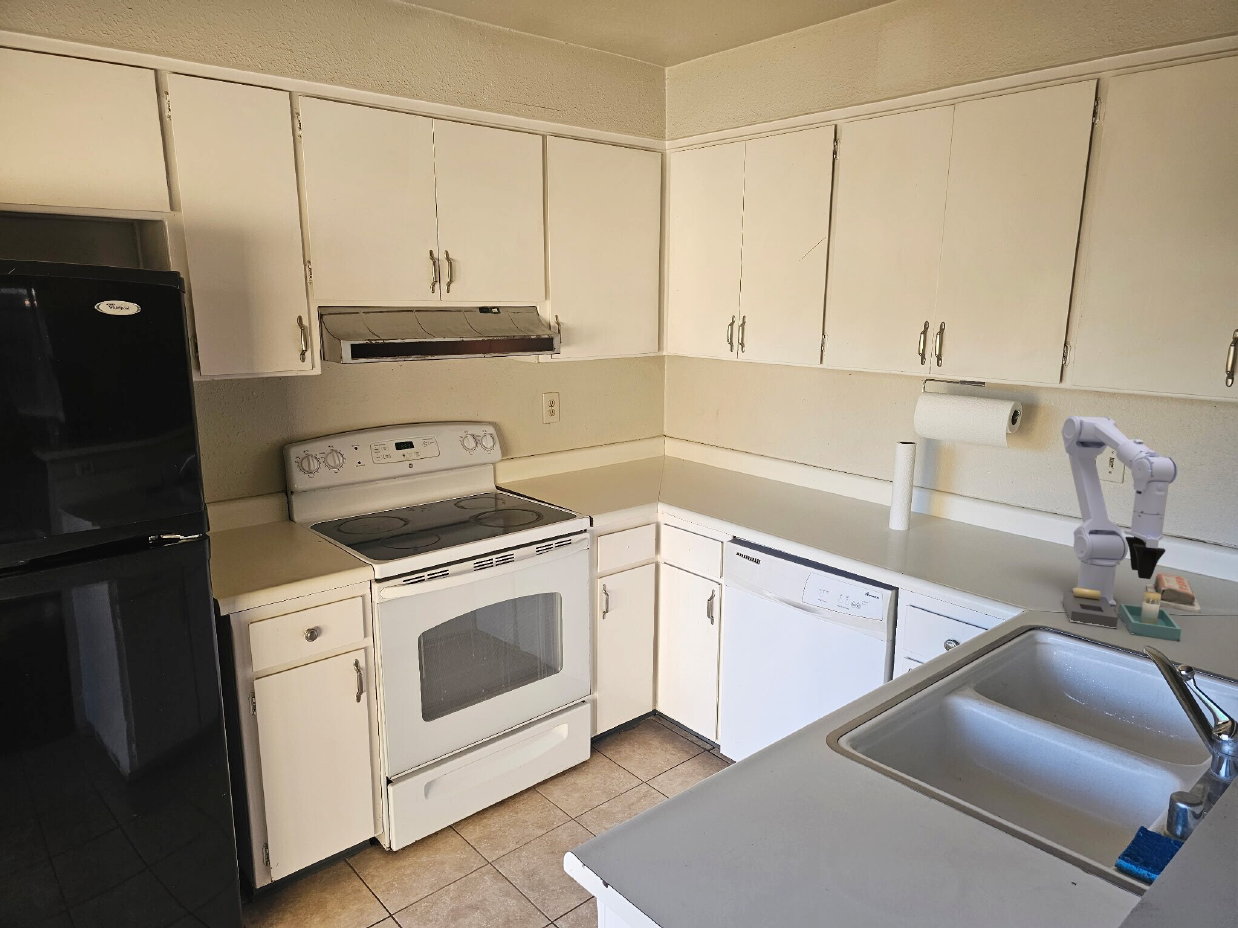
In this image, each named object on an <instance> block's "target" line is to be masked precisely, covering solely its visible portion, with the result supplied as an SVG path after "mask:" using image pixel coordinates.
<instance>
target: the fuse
mask: <svg viewBox="0 0 1238 928" xmlns="http://www.w3.org/2000/svg"><path fill="white" fill-rule="evenodd" d="M1160 600H1161V594H1160V593H1157V592H1152V591H1147V590H1144V592H1143V599H1142V604H1141V605H1142V606H1141V607H1142V611H1141V618H1140V623H1145V624H1152V625H1157V620H1158V613H1159V609H1160V607H1161V606H1160Z"/></svg>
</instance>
